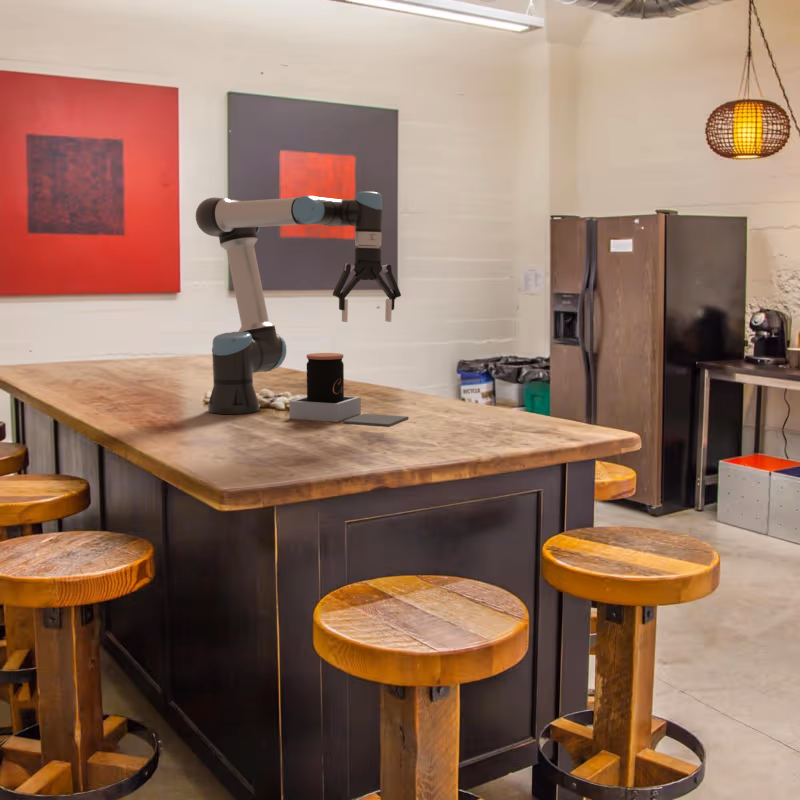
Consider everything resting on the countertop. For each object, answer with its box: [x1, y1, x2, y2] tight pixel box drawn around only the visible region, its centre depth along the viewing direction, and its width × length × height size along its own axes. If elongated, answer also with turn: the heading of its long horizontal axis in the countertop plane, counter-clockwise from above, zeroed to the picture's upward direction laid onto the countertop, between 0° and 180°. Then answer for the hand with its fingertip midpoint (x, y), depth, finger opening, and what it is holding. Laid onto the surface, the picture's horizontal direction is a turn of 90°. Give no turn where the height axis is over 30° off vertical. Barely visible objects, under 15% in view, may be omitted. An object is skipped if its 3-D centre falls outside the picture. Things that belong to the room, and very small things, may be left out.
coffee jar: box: [306, 352, 345, 403], centre depth 266 cm, size 11×11×18 cm
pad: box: [342, 413, 409, 427], centre depth 259 cm, size 14×14×1 cm
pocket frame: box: [288, 395, 362, 423], centre depth 267 cm, size 15×15×5 cm
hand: (366, 321), depth 266 cm, fingers open, 13 cm apart
